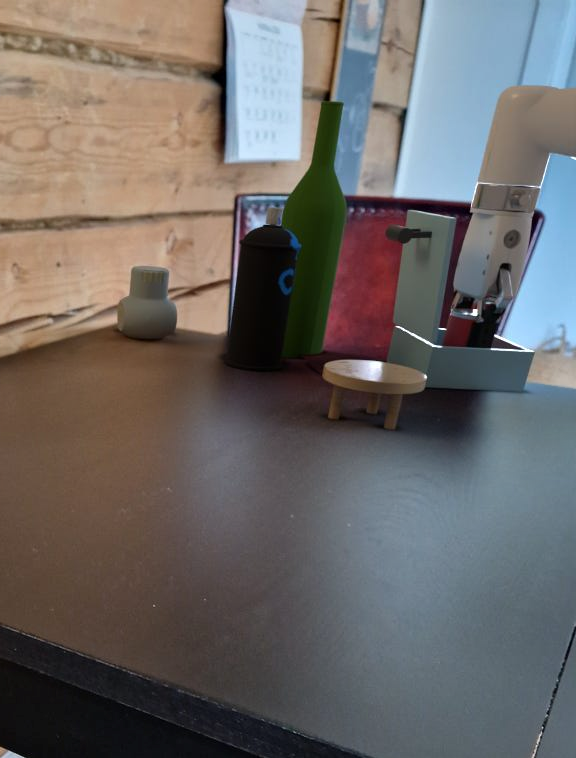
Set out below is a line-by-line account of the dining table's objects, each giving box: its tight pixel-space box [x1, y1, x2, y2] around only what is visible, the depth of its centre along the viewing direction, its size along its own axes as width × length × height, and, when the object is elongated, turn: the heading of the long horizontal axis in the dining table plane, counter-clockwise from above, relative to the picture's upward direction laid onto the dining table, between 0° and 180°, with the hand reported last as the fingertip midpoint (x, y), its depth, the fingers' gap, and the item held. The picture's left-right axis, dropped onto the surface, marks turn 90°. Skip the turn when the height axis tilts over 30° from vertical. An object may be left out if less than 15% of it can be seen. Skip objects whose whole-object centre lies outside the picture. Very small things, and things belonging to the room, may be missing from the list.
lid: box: [385, 209, 457, 343], centre depth 112 cm, size 14×15×5 cm
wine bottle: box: [280, 100, 348, 360], centre depth 123 cm, size 9×9×32 cm
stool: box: [321, 359, 427, 430], centre depth 95 cm, size 11×11×6 cm
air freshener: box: [116, 265, 178, 340], centre depth 133 cm, size 11×8×10 cm
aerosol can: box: [224, 206, 301, 372], centre depth 117 cm, size 8×8×20 cm
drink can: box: [442, 308, 477, 347], centre depth 117 cm, size 6×6×8 cm
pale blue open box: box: [385, 325, 536, 393], centre depth 118 cm, size 14×15×6 cm
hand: (465, 347), depth 117 cm, fingers closed on drink can, 6 cm apart
